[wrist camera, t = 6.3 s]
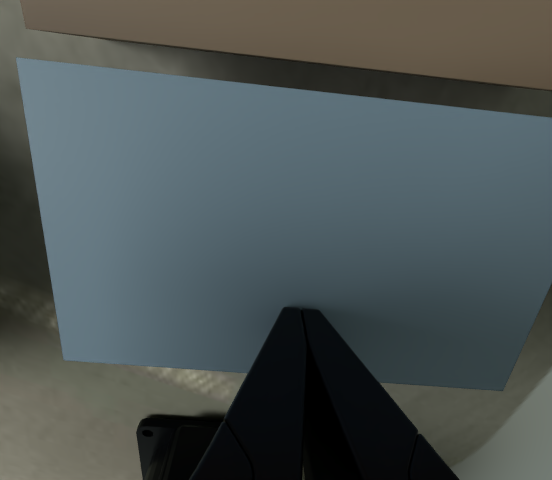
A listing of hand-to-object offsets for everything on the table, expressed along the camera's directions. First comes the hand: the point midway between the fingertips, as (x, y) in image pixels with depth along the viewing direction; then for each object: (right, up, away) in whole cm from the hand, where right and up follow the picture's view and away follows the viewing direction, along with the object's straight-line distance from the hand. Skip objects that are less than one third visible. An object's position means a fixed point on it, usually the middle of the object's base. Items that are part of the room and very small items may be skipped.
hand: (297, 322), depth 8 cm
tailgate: (+1, +5, -2) cm, 5 cm away
